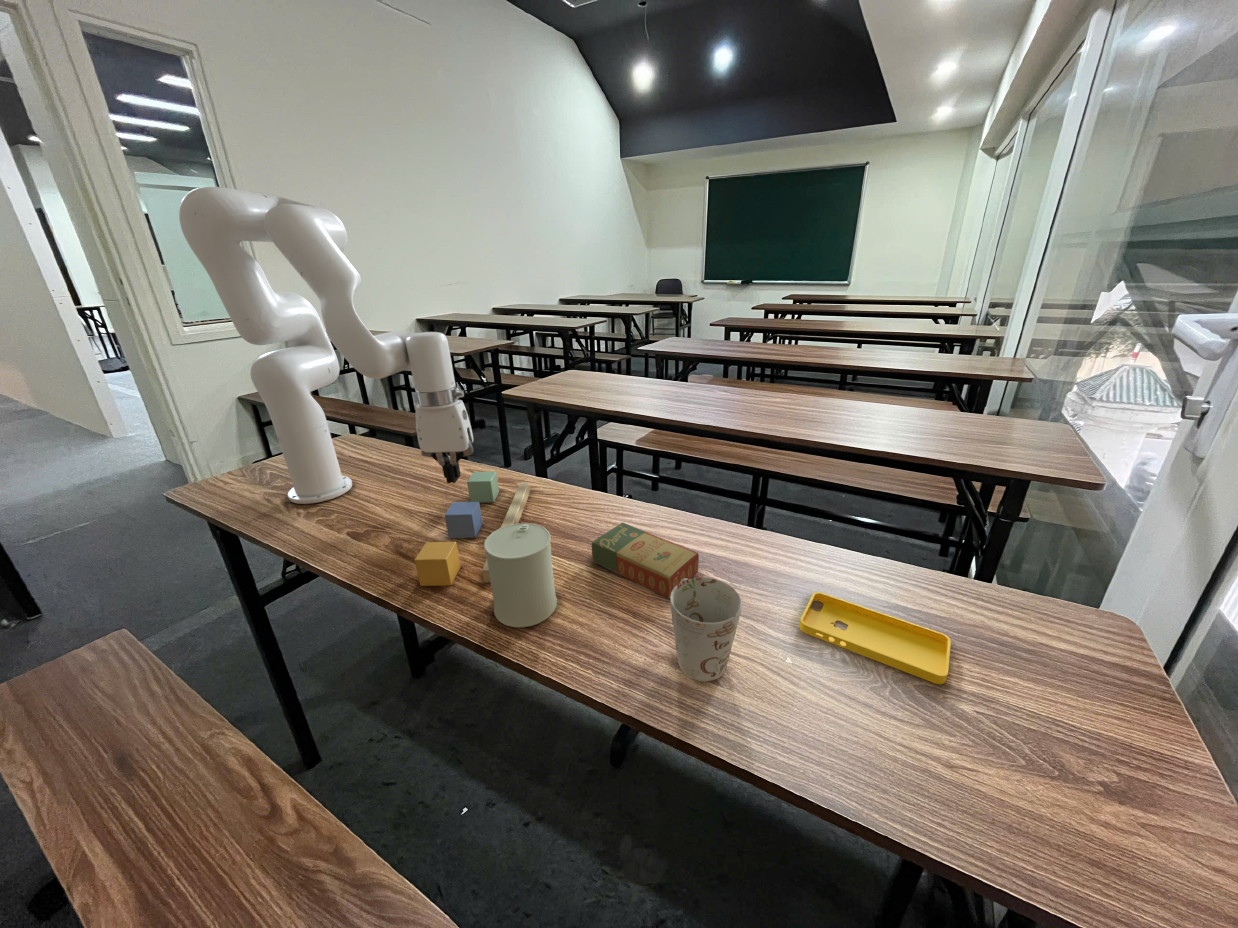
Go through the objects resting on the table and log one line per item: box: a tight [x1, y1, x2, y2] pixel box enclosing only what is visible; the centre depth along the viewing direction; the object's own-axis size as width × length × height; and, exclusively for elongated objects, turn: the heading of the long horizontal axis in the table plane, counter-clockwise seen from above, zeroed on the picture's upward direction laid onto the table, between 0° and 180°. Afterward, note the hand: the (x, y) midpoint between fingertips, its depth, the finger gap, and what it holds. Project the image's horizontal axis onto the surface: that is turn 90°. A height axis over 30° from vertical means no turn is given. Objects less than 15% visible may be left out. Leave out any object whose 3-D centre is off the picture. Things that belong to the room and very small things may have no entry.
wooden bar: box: [481, 482, 531, 584], centre depth 91 cm, size 32×2×2 cm, turn 0°
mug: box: [669, 577, 743, 682], centre depth 60 cm, size 8×13×10 cm, turn 16°
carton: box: [591, 522, 700, 599], centre depth 78 cm, size 8×16×4 cm, turn 50°
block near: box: [413, 541, 462, 587], centre depth 77 cm, size 5×5×5 cm
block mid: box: [444, 501, 484, 539], centre depth 90 cm, size 5×5×5 cm
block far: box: [466, 471, 500, 504], centre depth 103 cm, size 5×5×5 cm
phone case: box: [798, 591, 952, 685], centre depth 63 cm, size 8×17×1 cm, turn 55°
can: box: [483, 522, 558, 628], centre depth 69 cm, size 9×9×12 cm
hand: (453, 480), depth 102 cm, fingers closed
